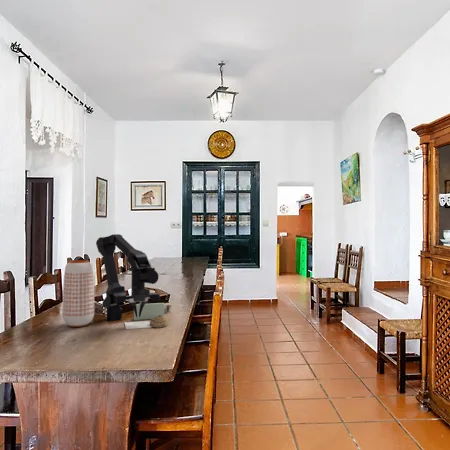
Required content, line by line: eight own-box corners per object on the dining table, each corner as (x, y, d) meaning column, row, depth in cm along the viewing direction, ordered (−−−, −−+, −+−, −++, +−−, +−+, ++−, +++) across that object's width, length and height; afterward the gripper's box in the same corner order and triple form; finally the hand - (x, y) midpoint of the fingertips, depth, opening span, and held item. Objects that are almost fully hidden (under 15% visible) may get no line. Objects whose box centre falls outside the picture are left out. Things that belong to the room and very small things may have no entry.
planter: (83, 329, 164) (84, 262, 164) (55, 327, 166) (56, 261, 166) (100, 321, 177) (100, 259, 177) (73, 320, 179) (74, 259, 179)
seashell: (173, 318, 174) (166, 315, 167) (170, 331, 172) (163, 328, 165) (156, 315, 176) (149, 312, 169) (153, 328, 174) (146, 325, 167)
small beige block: (164, 313, 194) (164, 305, 194) (160, 311, 198) (160, 303, 198) (172, 312, 196) (172, 304, 196) (168, 310, 200) (168, 303, 200)
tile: (125, 329, 164) (125, 328, 164) (124, 323, 174) (124, 322, 174) (152, 327, 167) (152, 326, 167) (149, 321, 177) (149, 320, 177)
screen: (134, 320, 178) (134, 305, 178) (133, 318, 182) (133, 303, 182) (164, 318, 182) (164, 303, 183) (163, 316, 186) (163, 302, 186)
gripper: (116, 285, 160) (116, 323, 160) (162, 283, 166) (161, 319, 166) (115, 281, 171) (115, 317, 171) (158, 279, 176) (158, 314, 176)
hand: (138, 317), depth 171 cm, fingers closed
